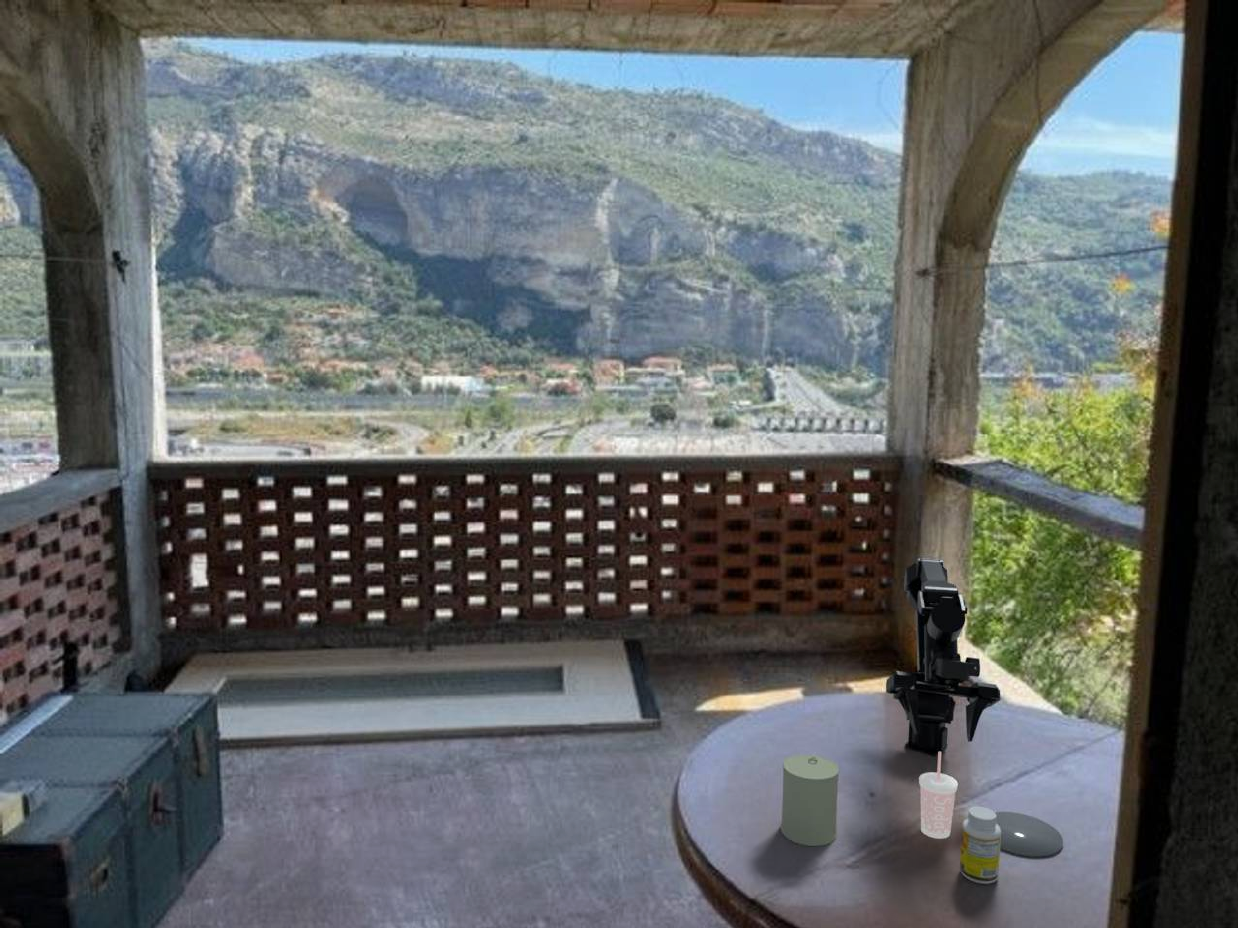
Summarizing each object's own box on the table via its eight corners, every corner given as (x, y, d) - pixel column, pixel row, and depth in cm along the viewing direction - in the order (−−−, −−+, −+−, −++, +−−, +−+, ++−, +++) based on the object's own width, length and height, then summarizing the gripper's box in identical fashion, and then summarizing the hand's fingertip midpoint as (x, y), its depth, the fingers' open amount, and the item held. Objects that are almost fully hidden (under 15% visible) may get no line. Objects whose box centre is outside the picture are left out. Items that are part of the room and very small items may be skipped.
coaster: (965, 836, 152) (965, 833, 152) (992, 807, 162) (993, 803, 162) (1049, 866, 144) (1049, 863, 144) (1072, 833, 153) (1072, 829, 153)
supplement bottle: (967, 860, 145) (970, 799, 144) (1003, 873, 142) (1007, 811, 140) (953, 876, 141) (957, 813, 140) (991, 890, 137) (995, 826, 136)
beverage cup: (914, 836, 152) (919, 756, 150) (917, 818, 158) (921, 741, 156) (954, 844, 150) (959, 763, 148) (955, 825, 155) (960, 747, 154)
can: (839, 822, 156) (842, 755, 155) (833, 850, 148) (836, 780, 146) (785, 813, 159) (787, 747, 158) (776, 840, 151) (778, 771, 149)
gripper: (902, 630, 162) (902, 719, 154) (1009, 645, 160) (1015, 735, 153) (885, 649, 171) (885, 733, 164) (986, 663, 170) (991, 748, 163)
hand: (943, 737), depth 161 cm, fingers open, 9 cm apart
